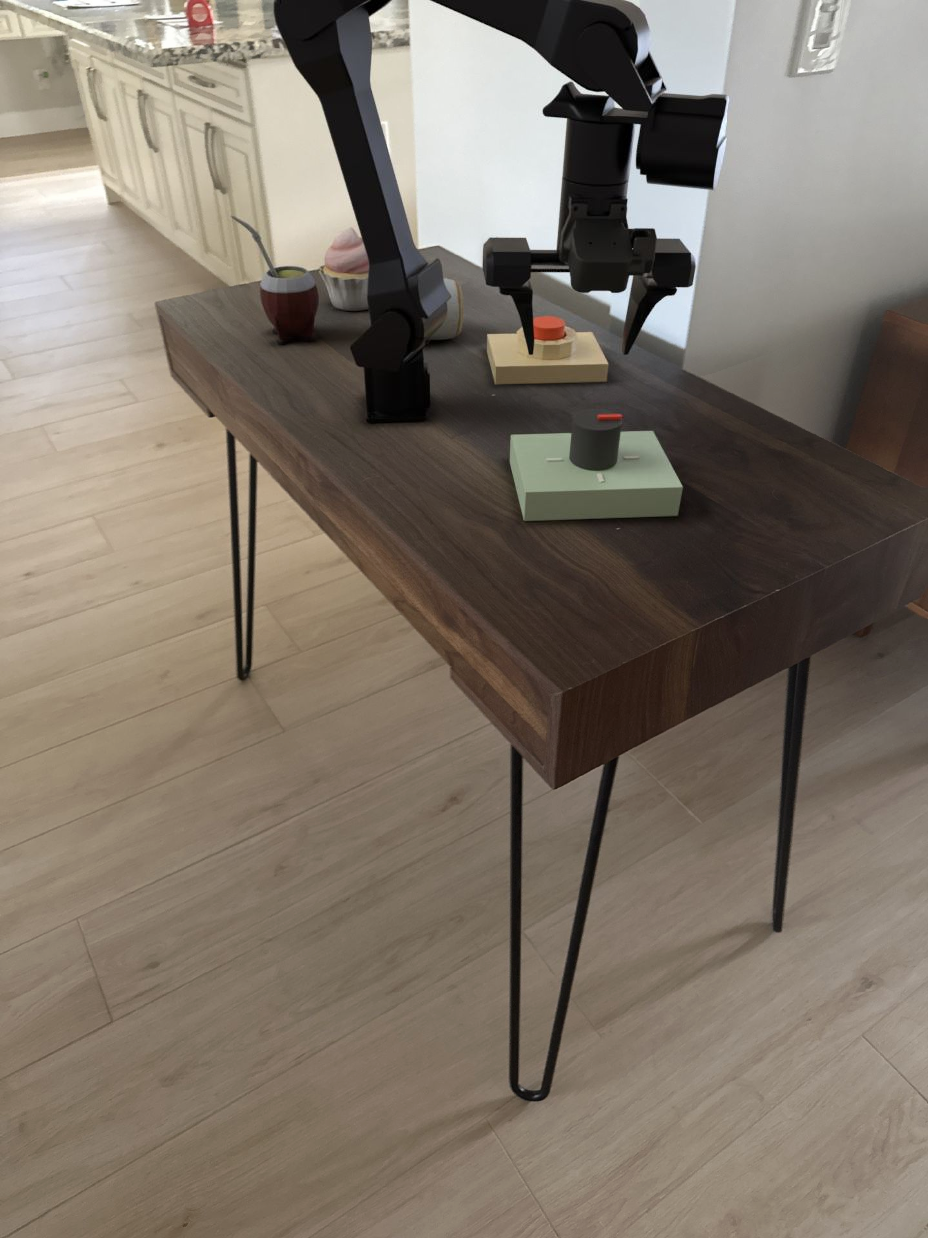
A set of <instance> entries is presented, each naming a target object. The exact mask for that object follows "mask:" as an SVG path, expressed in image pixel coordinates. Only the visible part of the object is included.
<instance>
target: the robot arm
mask: <svg viewBox="0 0 928 1238" xmlns="http://www.w3.org/2000/svg"><path fill="white" fill-rule="evenodd" d="M392 1H393V0H273V3H272V4H273V9H272V10H273V17H274V22H275V26H276V28H277V31H278V33H279V35H280V37H281V39H282V41H283V44H284V47H285V48H286V50H287V52H288V55H289V57H290V59H291V61H292V64H293V66H294V68H295V69H296V70H297V72H298V73H299V74H300V75H301V77H302V78H303V79H304V80H305V81H306V83H307V85H308V86H309V87H310V88H311V90H312V91H313V93H314V94H315V95H316V96H317V98H318V101H319V102H320V105H321V108H322V112H323V115H324V118H325V122H326V125H327V128H328V131H329V135H330V138H331V141H332V145H333V148H334V152H335V154H336V158H337V161H338V164H339V168H340V171H341V174H342V178H343V181H344V184H345V188H346V191H347V194H348V197H349V200H350V204H351V207H352V210H353V214H354V217H355V221H356V224H357V226H358V230H359V233H360V237H361V238H362V240H363V244H364V247H365V250H366V253H367V257H368V262H369V272H368V286H367V302H368V308H369V309H368V315H369V321H370V326H369V327H368V328H367V329H366V330H365V331H364V332H363V333H362V334H361V335H360V336H359V337H358V338H357V339H356V340H355V341H354V342H352V344H351V345H350V346H349V350H350V353H351V355H352V358H353V360H354V362H355V365H356V366H357V367H360V368H363V376H364V379H363V380H364V391H365V392H364V394H365V407H364V408H365V411H364V413H365V415H364V419H365V422H366V423H397V422H400V423H401V422H424V421H427V420H428V416H427V410H428V409H430V408H431V371H430V364H429V363H428V362H425V356H424V348H423V347H424V346H426V345H428V344H429V342H430V341H431V340H430V337H431V335H432V334H434V333H435V332H436V331H437V330H438V329H439V328H440V327H441V326H442V324H443V322H444V320H445V318H446V316H447V311H448V308H447V301H448V300H449V299H450V298H451V294H450V293H449V292H448V290H447V288H446V286H445V283H444V279H443V278H444V272H443V265H442V262H441V259H440V258H435V259H433V260H430V261H427V259H426V258H425V257H424V255H423V254H422V253H421V252H420V251H419V250H418V248H417V246H416V244H415V242H414V239H413V234H412V232H411V227H410V224H409V221H408V217H407V214H406V209H405V205H404V202H403V199H402V198H403V197H402V195H401V190H400V188H399V184H398V181H397V176H396V174H395V169H394V165H393V162H392V158H391V155H390V152H389V148H388V144H387V140H386V136H385V134H384V129H383V126H382V122H381V119H380V115H379V110H378V108H377V104H376V100H375V96H374V93H373V90H372V84H371V70H372V54H373V38H372V29H371V22H370V17H372V16H373V15H375V14H376V13H378V12H380V11H381V10H382V9H383V8H385V7H386V6H388V5H389V4H390V3H391V2H392ZM429 1H431V2H432V3H435V4H436V5H437V4H438V5H440V6H442V7H444V8H447V9H449V10H450V11H453V12H455V13H458V14H460V15H463V16H465V17H467V18H470V19H472V20H474V21H476V22H478V23H481V24H483V25H485V26H488V27H490V28H492V29H495V30H496V31H499V32H502V33H503V34H506V35H509V36H510V37H513V38H515V39H517V40H520V41H521V42H523V43H524V44H526V45H528V46H529V47H530V48H532V49H533V50H534V51H535V52H537V54H539V55H540V56H541V57H542V59H543V60H545V61H546V62H547V63H548V64H549V66H551V67H552V68H554V69H556V70H557V71H558V72H559V73H561V74H563V76H566V77H567V78H568V79H569V80H571V81H568V82H566V83H565V84H563V85H562V86H561V88H560V90H559V92H558V93H557V94H556V96H555V97H554V98H553V99H552V100H551V101H550V102H549V103H547V104H546V105H544V107H543V108H542V115H543V116H544V117H547V118H556V119H566V125H565V138H564V150H563V163H562V174H561V175H562V177H561V186H560V187H561V188H560V200H559V213H558V224H557V225H558V227H557V238H556V249H531V248H530V246H529V242H528V240H527V237H493V236H492V237H491V236H490V237H488V239H487V240H485V242H484V243H483V245H482V271H483V277H484V282H485V285H486V286H489V287H493V288H498V292H499V294H500V295H502V296H510V297H511V299H512V301H513V303H514V305H515V308H516V310H517V313H518V316H519V320H520V323H521V328H523V332H524V336H525V340H526V345H527V349H528V353H529V355H533V351H534V324H533V319H534V309H533V307H534V306H533V302H534V301H533V299H534V298H533V297H534V290H533V286H532V284H531V281H530V279H531V277H532V273H569V277H570V286H571V289H573V290H574V291H575V292H577V293H582V294H589V293H590V292H610V293H611V294H620V293H623V292H625V291H626V290H627V288H628V283H629V279H630V276H631V277H632V280H631V286H630V292H629V296H628V302H627V310H626V314H625V319H624V325H623V331H622V344H621V352H622V354H623V355H624V356H627V355H629V354H630V351H631V349H632V348H633V346H634V343H635V341H636V340H637V338H638V336H639V334H640V332H641V330H642V328H643V326H644V324H645V323H646V321H647V319H648V317H649V316H650V314H651V313H652V311H653V310H654V309H655V306H656V305H657V304H658V303H659V302H661V301H662V300H663V299H664V298H666V297H672V296H675V295H676V294H677V292H678V288H690V287H692V286H693V285H694V281H695V274H696V267H697V264H696V258H695V256H694V255H693V253H691V251H690V250H689V249H688V248H687V246H686V245H685V244H684V242H683V241H682V239H680V238H661V237H660V238H658V237H657V233H656V229H655V228H653V227H652V228H651V227H650V228H648V227H644V228H643V227H634V228H629V224H628V223H629V222H628V219H627V217H628V216H627V215H628V202H629V201H628V200H629V199H628V190H629V181H630V174H631V166H632V165H631V164H632V158H633V149H634V141H635V131H636V125H639V133H638V137H637V145H636V149H635V151H636V152H635V169H636V170H639V175H641V176H645V178H646V179H645V180H646V184H649V185H659V186H668V187H669V186H670V187H676V188H677V187H678V188H688V189H699V190H708V191H709V190H710V191H715V190H716V188H717V185H718V183H719V182H718V181H719V178H720V176H721V175H720V174H721V171H722V166H723V162H724V157H725V150H726V146H727V140H728V136H726V131H727V124H728V123H727V122H728V108H729V103H730V96H729V95H728V94H722V93H721V94H720V93H710V94H705V95H696V94H695V95H694V94H683V93H682V94H681V93H669V88H668V86H667V84H666V82H665V80H664V78H663V76H662V73H661V72H660V70H659V68H658V66H657V64H656V62H655V60H654V58H653V55H652V53H651V51H650V46H651V29H650V25H649V23H648V19H647V17H646V14H645V13H644V12H643V10H642V8H640V7H639V6H637V5H636V4H635V3H633V2H632V1H628V0H429ZM575 84H576V85H578V86H580V87H581V88H582V89H585V90H586V91H589V92H595V93H605V94H606V95H603V94H590V93H582V92H581V91H579V89H578V88H577V87H576V85H575ZM615 103H616V104H617V105H618V106H619V107H616V104H615Z"/></svg>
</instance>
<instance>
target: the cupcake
mask: <svg viewBox="0 0 928 1238" xmlns="http://www.w3.org/2000/svg"><path fill="white" fill-rule="evenodd" d="M323 262H324V264H323V265H319V266H318V268H319V271H318V272H319V275H320V277H321V279H322V281H323V282H324V285H325V286H326V289H327V292H328V296H329V300H330V302H331V304H332V306H333V307H334V308H336V309H337V310H342V311H347V312H359V311H366V310H369V308H368V302H367V286H368V272H369V262H368V257H367V253H366V250H365V247H364V244H363V240H362V237H361V236H359V235H358V232H357V231H356V230H355V229H354V228H353V227H352V226H350V227H348V228H346V229H345V230H343V231H341V232H340V233H339V234H338V235H336V237H334V239H333V241H332V244H331V245H330V246H329V248H328V249H327V250H326V251H325V253H324V260H323Z"/></svg>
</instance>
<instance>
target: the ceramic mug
mask: <svg viewBox="0 0 928 1238" xmlns="http://www.w3.org/2000/svg"><path fill="white" fill-rule="evenodd" d="M443 279H444V283H445V286H446V288H447V290H448V292H449V293H450V294H451V298H450V299H449V300H448V301H447V308H448V311H447V316H446V318H445V320H444V322H443V324H442V326H441V327H440V328H439V329H438V330H437V331H436V332H435V333H434V334H432V335H431V337H430V340H429V341H445V340H450V339H451V340H452V339H454V338H457V337H458V336H460V334H461V332H462V329H463V322H464V299H463V298H464V297H463V290H462V286H461V284H460V283H459V282H458V281H457V280H455V279H451V278H446V277H443Z"/></svg>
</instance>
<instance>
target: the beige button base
mask: <svg viewBox="0 0 928 1238" xmlns="http://www.w3.org/2000/svg"><path fill="white" fill-rule="evenodd" d="M486 353H487V357H488V361H489V365H490V366H489V367H490V369H491V373H492V378H493V381H494V385H520V384H521V385H522V384H523V385H525V384H526V385H527V384H562V383H564V384H565V383H607V382H608V373H609V361H608V360H607V358H606V356H605V354H604V352H603V350H602V348H601V347H600V344H599V343H598V341H597V339H596V336H595V334H594V333H593V331H578V332H577V331H576V330H575V329H573V328H571V327H569V326H566V325H565V329H564V338H563V339H560V340H557V341H542V340H537V339H534V351H533V355H529V353H528V349H527V345H526V340H525V336H524V332H523V328H522V327H520V328H519V329H518V330H516V333H487V334H486Z"/></svg>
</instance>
